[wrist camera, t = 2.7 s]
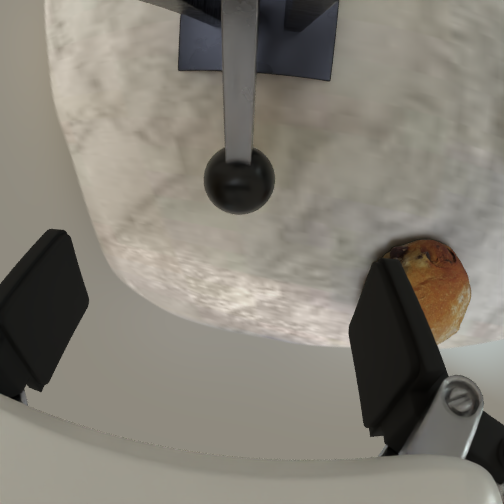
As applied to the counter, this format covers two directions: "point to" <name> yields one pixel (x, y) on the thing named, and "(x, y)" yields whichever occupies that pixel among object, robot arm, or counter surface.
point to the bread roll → (436, 284)
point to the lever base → (261, 36)
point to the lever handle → (239, 117)
